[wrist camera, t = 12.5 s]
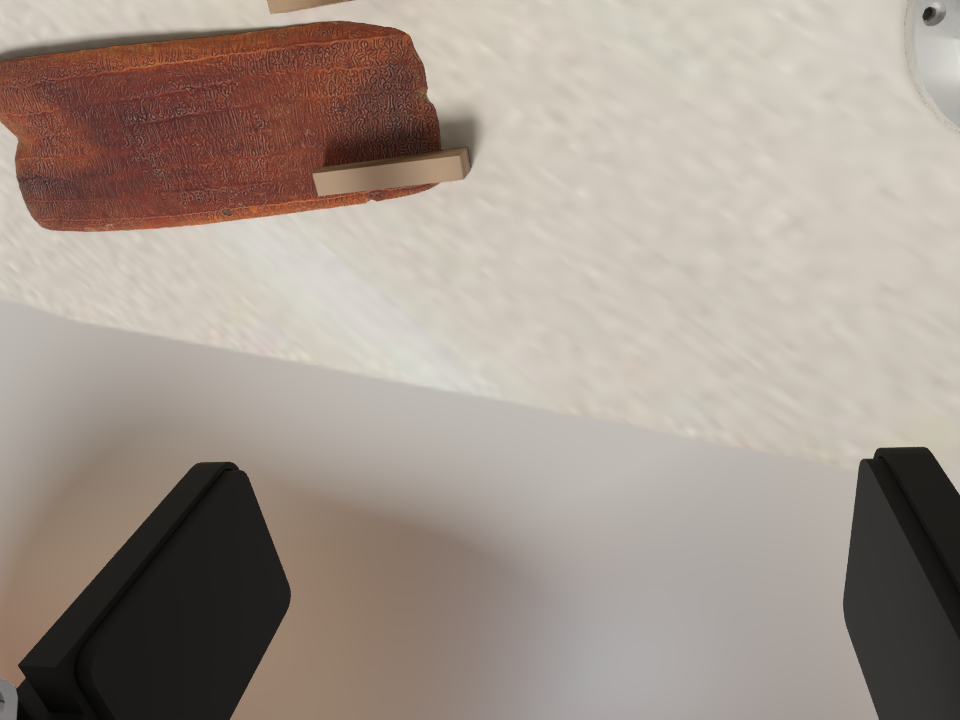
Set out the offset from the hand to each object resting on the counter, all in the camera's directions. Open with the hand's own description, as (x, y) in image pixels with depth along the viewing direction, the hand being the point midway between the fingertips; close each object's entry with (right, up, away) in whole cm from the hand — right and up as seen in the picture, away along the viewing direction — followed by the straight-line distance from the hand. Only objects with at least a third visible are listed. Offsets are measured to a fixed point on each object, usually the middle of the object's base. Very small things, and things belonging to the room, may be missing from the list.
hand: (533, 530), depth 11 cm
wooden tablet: (-16, +15, +29) cm, 36 cm away
